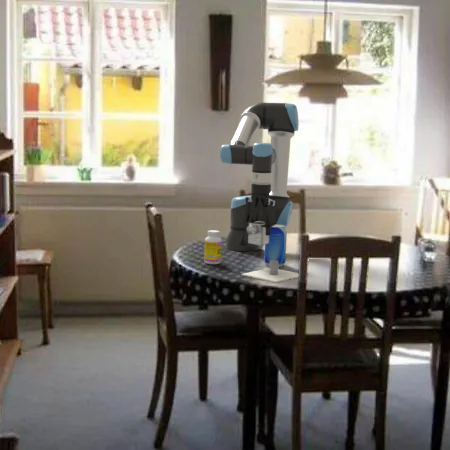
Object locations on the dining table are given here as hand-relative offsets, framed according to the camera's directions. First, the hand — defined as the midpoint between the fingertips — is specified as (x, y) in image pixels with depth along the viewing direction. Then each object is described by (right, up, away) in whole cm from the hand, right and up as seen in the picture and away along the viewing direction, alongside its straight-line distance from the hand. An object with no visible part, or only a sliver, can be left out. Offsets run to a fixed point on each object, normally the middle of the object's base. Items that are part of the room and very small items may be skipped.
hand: (258, 241), depth 309 cm
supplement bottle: (-18, -9, +6) cm, 21 cm away
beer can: (+6, -10, +6) cm, 13 cm away
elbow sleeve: (-1, -1, -1) cm, 1 cm away
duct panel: (+5, -12, -14) cm, 19 cm away
